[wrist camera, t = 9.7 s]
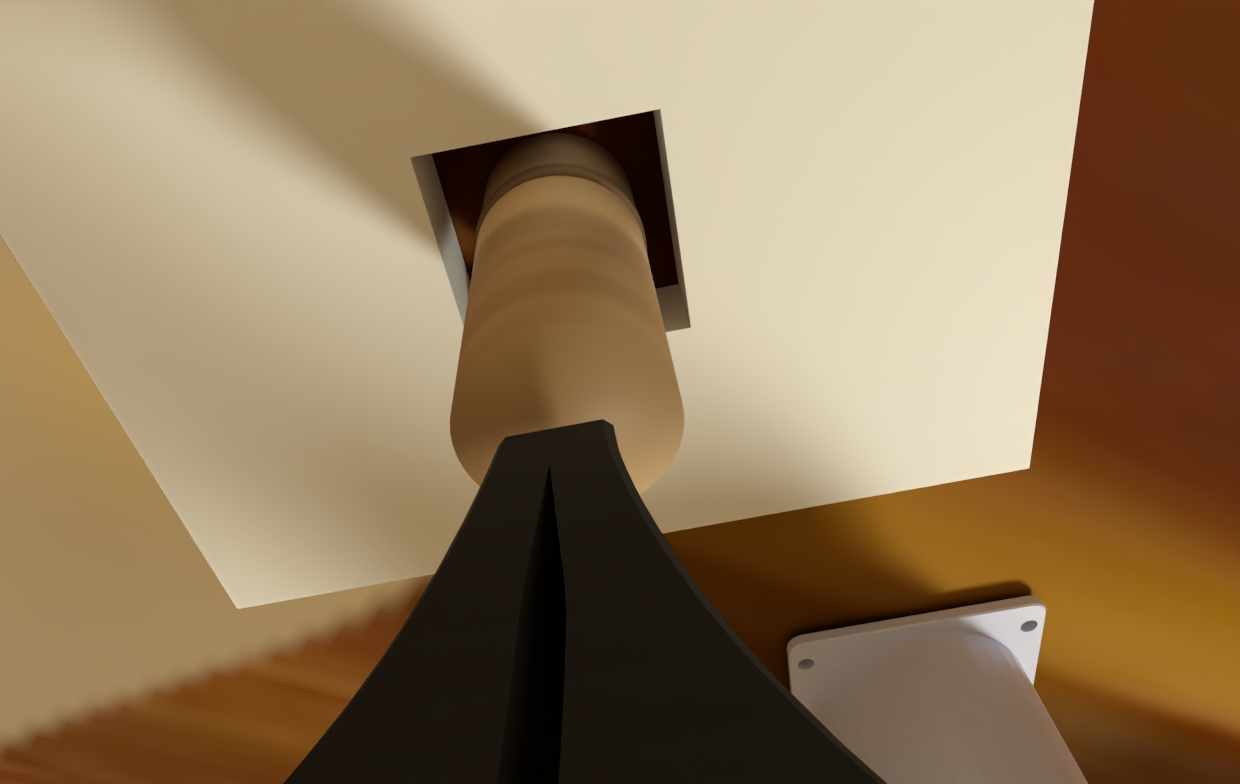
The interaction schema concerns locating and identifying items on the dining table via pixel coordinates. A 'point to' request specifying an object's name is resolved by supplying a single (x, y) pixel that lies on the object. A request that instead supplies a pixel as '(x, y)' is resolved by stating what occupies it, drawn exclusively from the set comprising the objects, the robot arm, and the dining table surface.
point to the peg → (564, 312)
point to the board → (437, 276)
